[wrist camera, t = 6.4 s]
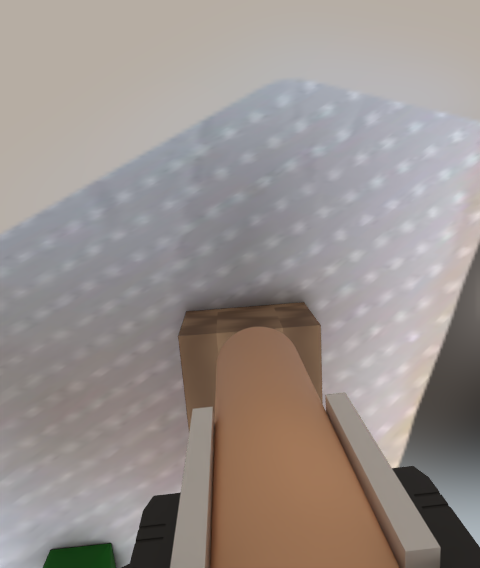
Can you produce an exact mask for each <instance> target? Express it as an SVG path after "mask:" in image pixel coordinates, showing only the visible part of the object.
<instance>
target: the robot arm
mask: <svg viewBox="0 0 480 568" xmlns="http://www.w3.org/2000/svg"><path fill="white" fill-rule="evenodd" d="M325 396H326V413H327V415H328V417H329V420H330V422H331V424H332V426H333V428H334V430H335V432H336V434H337V436H338V439H339V441H340V443H341V445H342V447H343V449H344V451H345V453H346V455H347V458H348V460H349V462H350V464H351V466H352V468H353V470H354V472H355V474H356V477H357V479H358V481H359V483H360V485H361V487H362V489H363V491H364V493H365V496H366V498H367V500H368V502H369V504H370V506H371V508H372V510H373V512H374V515H375V517H376V519H377V521H378V523H379V525H380V527H381V529H382V531H383V533H384V536H385V538H386V540H387V542H388V544H389V546H390V548H391V550H392V552H393V555H394V557H395V559H396V561H397V563H398V565H399V567H400V568H480V547H479V546H478V544H477V543H476V542H475V540H474V539H473V537H472V536H471V535H470V533H469V532H468V531H467V529H466V528H465V526H464V525H463V524H462V522H461V521H460V520H459V518H458V517H457V515H456V514H455V513H454V511H453V510H452V509H451V507H449V506H448V503H447V502H446V501H445V499H444V498H443V496H442V495H440V493H439V491H438V489H437V488H436V487H435V485H434V484H433V482H432V481H431V480H430V478H429V477H428V476H426V475H425V474H423V473H422V472H421V471H419V470H418V469H416V468H415V467H414V466H409V467H400V468H391V466H390V465H389V463H388V461H387V460H386V458H385V456H384V455H383V453H382V452H381V450H380V448H379V447H378V445H377V443H376V442H375V440H374V439H373V437H372V435H371V434H370V432H369V430H368V429H367V427H366V426H365V424H364V422H363V421H362V419H361V417H360V416H359V414H358V413H357V411H356V409H355V408H354V406H353V405H352V403H351V401H350V400H349V398H348V396H347V395H346V393H337V394H328V395H325ZM214 435H215V422H214V413H213V407H205V408H196V409H193V410H192V417H191V424H190V431H189V438H188V445H187V452H186V459H185V466H184V473H183V480H182V487H181V493H175V494H166V495H157V496H153V498H152V499H151V500H150V502H149V503H148V505H147V506H146V507H145V509H144V510H143V514H142V518H141V522H140V526H139V530H138V534H137V538H136V544H135V545H134V549H133V553H132V557H131V561H130V564H128V565H126V566H124V567H122V568H210V551H211V522H212V493H213V464H214Z"/></svg>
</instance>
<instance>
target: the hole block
mask: <svg viewBox="0 0 480 568" xmlns="http://www.w3.org/2000/svg"><path fill="white" fill-rule="evenodd" d="M250 327H268V328H272V329H275V330H277V331H279V332H281V333H283V334H284V335H285V336H287V337H288V338H289V339H290V340H291V342H292V343H293V344H294V346H295V348H296V350H297V352H298V354H299V356H300V358H301V360H302V363H303V365H304V367H305V369H306V371H307V373H308V375H309V377H310V379H311V382H312V384H313V386H314V388H315V390H316V392H317V394H318V396H319V398H320V401H321V403H322V365H321V325H320V323H319V322H318V321H317V319H316V318H315V317H314V315H313V314H312V313H311V311H310V310H309V309H308V307H307V306H306V304H305V303H304V302H301V303H289V304H276V305H263V306H250V307H238V308H225V309H212V310H200V311H187V312H186V314H185V317H184V320H183V323H182V326H181V329H180V332H179V335H178V339H179V348H180V356H181V365H182V374H183V383H184V392H185V400H186V409H187V418H188V427H189V431H190V424H191V417H192V410H193V409H196V408H205V407H213V413H214V422H215V394H216V366H217V358H218V355H219V352H220V350H221V348H222V346H223V345H224V343H225V342H226V341H227V340H228V339H229V338H230V337H231V336H233V335H234V334H235V333H237V332H239V331H241V330H243V329H246V328H250Z"/></svg>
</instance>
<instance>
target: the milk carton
mask: <svg viewBox="0 0 480 568" xmlns="http://www.w3.org/2000/svg"><path fill="white" fill-rule="evenodd" d="M43 568H116V565H115V560H114V555H113V550H112V546H111V543H109V544H99V545H90V546H81V547H72V548H63V549H54V550H50V552H49V555H48V557H47V559H46V561H45V564H44V566H43Z"/></svg>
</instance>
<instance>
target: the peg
mask: <svg viewBox="0 0 480 568" xmlns="http://www.w3.org/2000/svg"><path fill="white" fill-rule="evenodd" d="M210 568H400V567H399V565H398V563H397V561H396V559H395V557H394V555H393V552H392V550H391V548H390V546H389V544H388V542H387V540H386V538H385V536H384V533H383V531H382V529H381V527H380V525H379V523H378V521H377V519H376V517H375V515H374V512H373V510H372V508H371V506H370V504H369V502H368V500H367V498H366V496H365V493H364V491H363V489H362V487H361V485H360V483H359V481H358V479H357V477H356V474H355V472H354V470H353V468H352V466H351V464H350V462H349V460H348V458H347V455H346V453H345V451H344V449H343V447H342V445H341V443H340V441H339V439H338V436H337V434H336V432H335V430H334V428H333V426H332V424H331V422H330V420H329V417H328V415H327V413H326V411H325V409H324V407H323V405H322V403H321V401H320V398H319V396H318V394H317V392H316V390H315V388H314V386H313V384H312V382H311V379H310V377H309V375H308V373H307V371H306V369H305V367H304V365H303V363H302V360H301V358H300V356H299V354H298V352H297V350H296V348H295V346H294V344H293V343H292V342H291V340H290V339H289V338H288V337H287V336H285V335H284V334H283V333H281V332H279V331H277V330H275V329H272V328H268V327H250V328H246V329H243V330H241V331H239V332H237V333H235V334H234V335H233V336H231V337H230V338H229V339H228V340H227V341H226V342H225V343H224V345H223V346H222V348H221V350H220V352H219V355H218V358H217V366H216V394H215V435H214V464H213V493H212V522H211V551H210Z"/></svg>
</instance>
